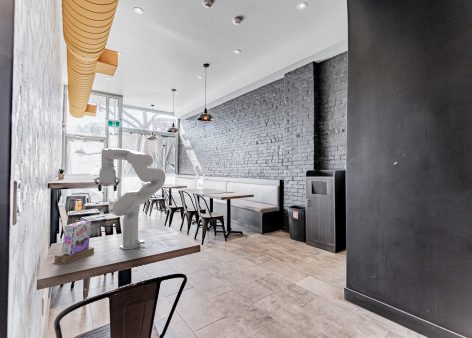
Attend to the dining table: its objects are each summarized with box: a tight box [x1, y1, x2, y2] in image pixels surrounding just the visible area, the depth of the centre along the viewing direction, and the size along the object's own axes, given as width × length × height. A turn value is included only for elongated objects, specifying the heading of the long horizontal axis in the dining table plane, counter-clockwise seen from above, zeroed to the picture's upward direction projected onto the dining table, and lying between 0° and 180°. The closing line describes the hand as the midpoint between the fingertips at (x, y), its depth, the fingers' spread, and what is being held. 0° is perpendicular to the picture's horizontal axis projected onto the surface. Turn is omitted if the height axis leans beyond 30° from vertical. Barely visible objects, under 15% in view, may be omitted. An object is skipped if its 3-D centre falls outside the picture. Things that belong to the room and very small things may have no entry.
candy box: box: [61, 220, 92, 255], centre depth 140 cm, size 14×6×16 cm, turn 173°
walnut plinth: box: [54, 246, 95, 265], centre depth 140 cm, size 9×17×4 cm, turn 161°
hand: (107, 191), depth 166 cm, fingers open, 9 cm apart
